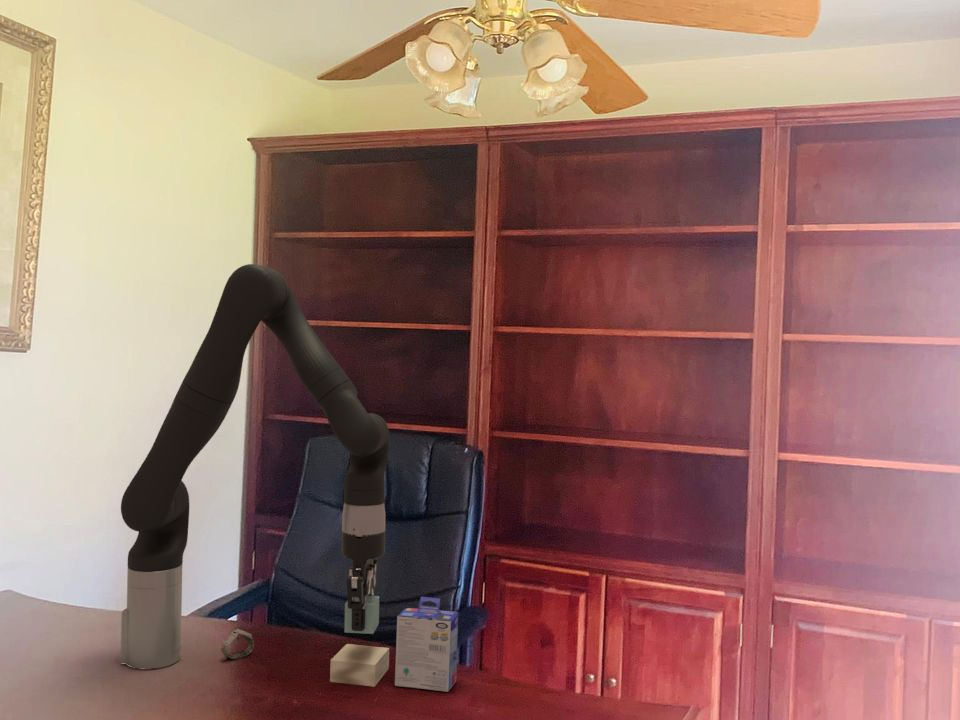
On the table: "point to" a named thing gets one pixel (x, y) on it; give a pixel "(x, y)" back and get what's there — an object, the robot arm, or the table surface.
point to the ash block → (359, 665)
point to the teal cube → (370, 616)
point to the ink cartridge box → (426, 647)
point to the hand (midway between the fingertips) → (361, 624)
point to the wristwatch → (232, 638)
